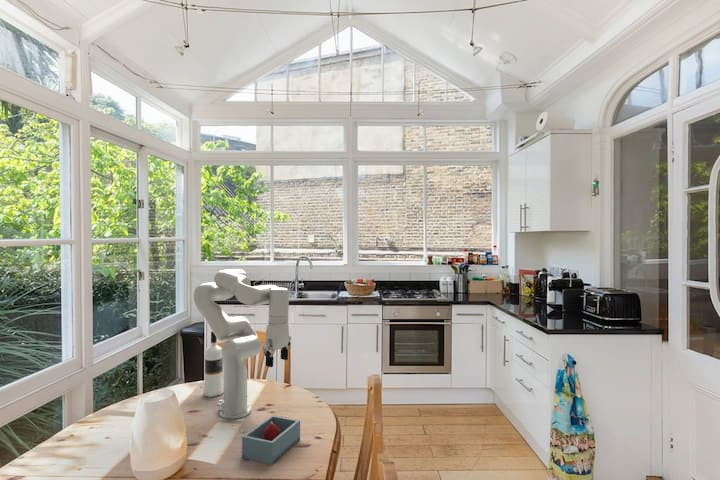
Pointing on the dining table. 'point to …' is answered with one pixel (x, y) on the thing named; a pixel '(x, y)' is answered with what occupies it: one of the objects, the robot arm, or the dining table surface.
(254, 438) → the blue-grey open box
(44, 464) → the dining table surface
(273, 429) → the red round fruit
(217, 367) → the vodka
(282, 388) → the dining table surface
